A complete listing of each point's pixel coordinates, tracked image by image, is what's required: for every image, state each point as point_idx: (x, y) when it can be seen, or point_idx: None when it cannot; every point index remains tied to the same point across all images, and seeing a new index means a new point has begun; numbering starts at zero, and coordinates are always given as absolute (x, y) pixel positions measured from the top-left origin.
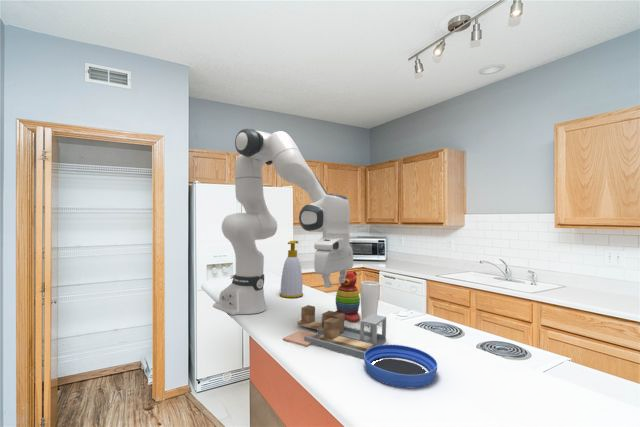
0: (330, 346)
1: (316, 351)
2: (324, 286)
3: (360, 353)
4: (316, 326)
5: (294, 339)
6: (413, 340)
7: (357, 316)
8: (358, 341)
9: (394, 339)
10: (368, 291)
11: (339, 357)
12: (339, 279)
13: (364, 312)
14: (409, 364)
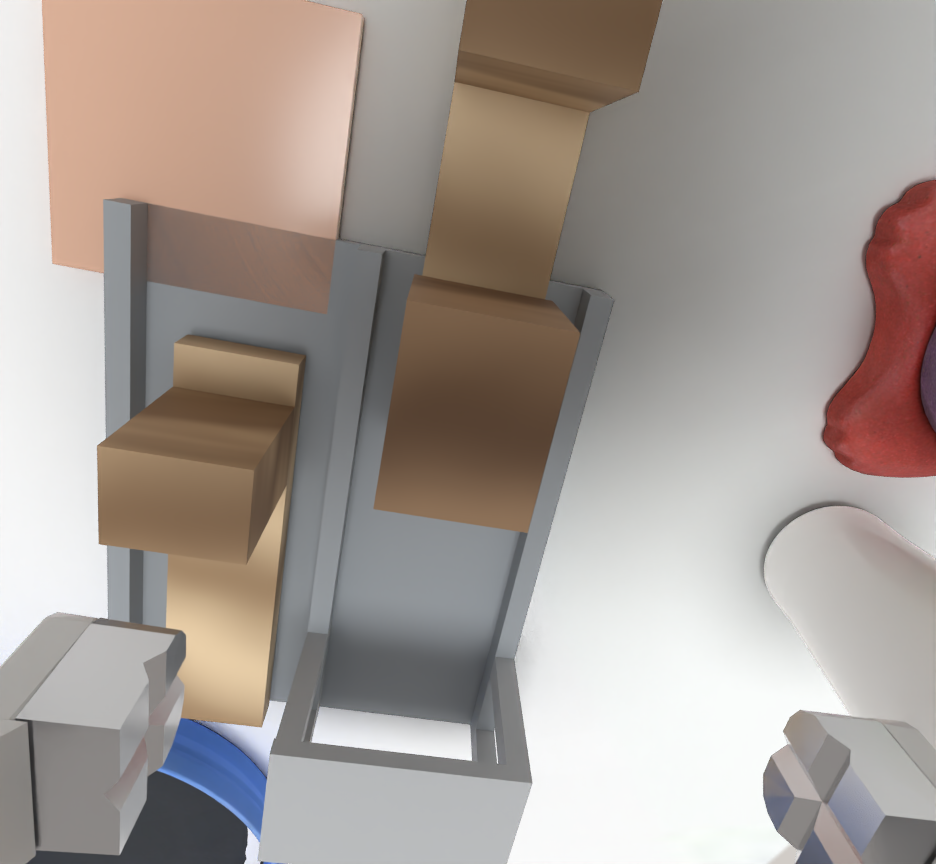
0: None
1: (39, 367)
2: (48, 617)
3: None
4: (435, 201)
5: (87, 88)
6: (572, 831)
7: (909, 472)
8: (253, 639)
9: (543, 750)
10: None
11: (57, 541)
12: (836, 784)
13: (826, 603)
14: (209, 854)
